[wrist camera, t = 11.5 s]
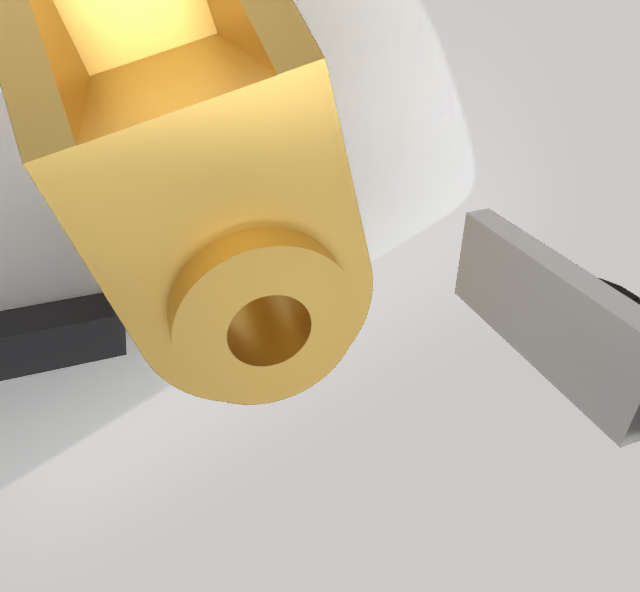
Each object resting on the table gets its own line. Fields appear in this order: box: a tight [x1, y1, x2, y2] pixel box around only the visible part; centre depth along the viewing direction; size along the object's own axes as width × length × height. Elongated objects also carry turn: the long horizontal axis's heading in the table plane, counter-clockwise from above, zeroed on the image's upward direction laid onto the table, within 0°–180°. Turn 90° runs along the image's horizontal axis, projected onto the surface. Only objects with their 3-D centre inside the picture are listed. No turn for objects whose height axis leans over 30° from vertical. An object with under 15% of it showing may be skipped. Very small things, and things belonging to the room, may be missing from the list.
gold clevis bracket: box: [0, 0, 373, 405], centre depth 22 cm, size 20×9×16 cm, turn 15°
